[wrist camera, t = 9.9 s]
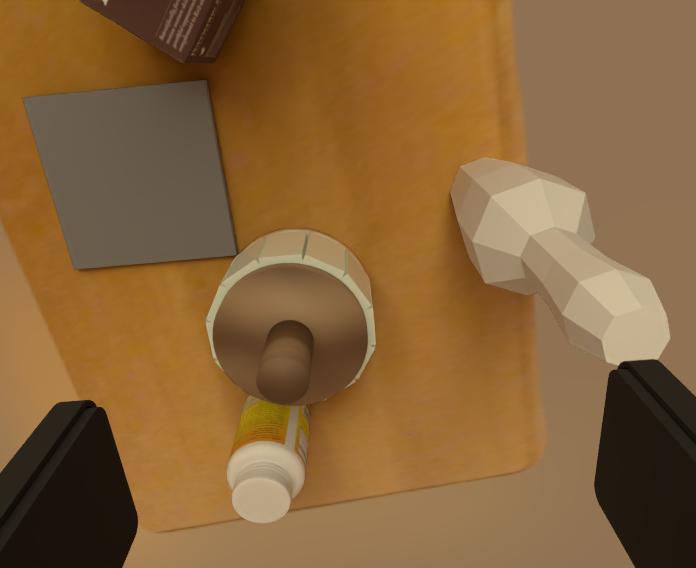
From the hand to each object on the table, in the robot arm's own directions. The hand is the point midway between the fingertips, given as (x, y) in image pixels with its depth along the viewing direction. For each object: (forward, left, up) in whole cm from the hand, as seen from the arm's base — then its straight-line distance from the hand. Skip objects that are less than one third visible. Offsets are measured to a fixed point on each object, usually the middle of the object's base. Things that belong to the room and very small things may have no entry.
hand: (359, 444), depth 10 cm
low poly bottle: (+3, +9, -30) cm, 32 cm away
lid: (+10, -5, -24) cm, 26 cm away
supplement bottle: (+20, -8, -30) cm, 37 cm away
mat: (0, -15, -30) cm, 33 cm away
